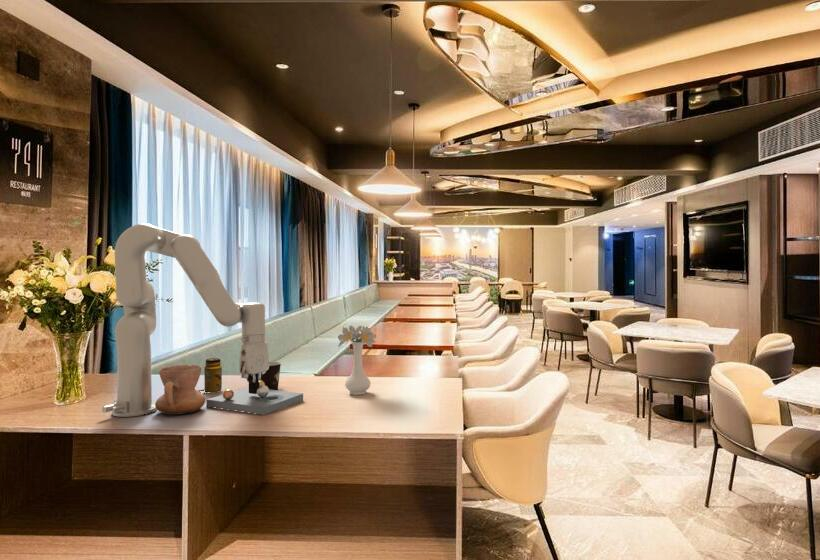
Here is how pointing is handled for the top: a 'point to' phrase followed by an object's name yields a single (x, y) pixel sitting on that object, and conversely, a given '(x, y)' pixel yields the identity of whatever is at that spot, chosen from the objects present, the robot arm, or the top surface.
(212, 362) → the condiment
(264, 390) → the steel ball
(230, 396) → the copper ball
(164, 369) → the ceramic jug
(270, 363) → the coffee mug
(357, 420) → the top surface
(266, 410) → the grey flat board
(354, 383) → the flower vase
